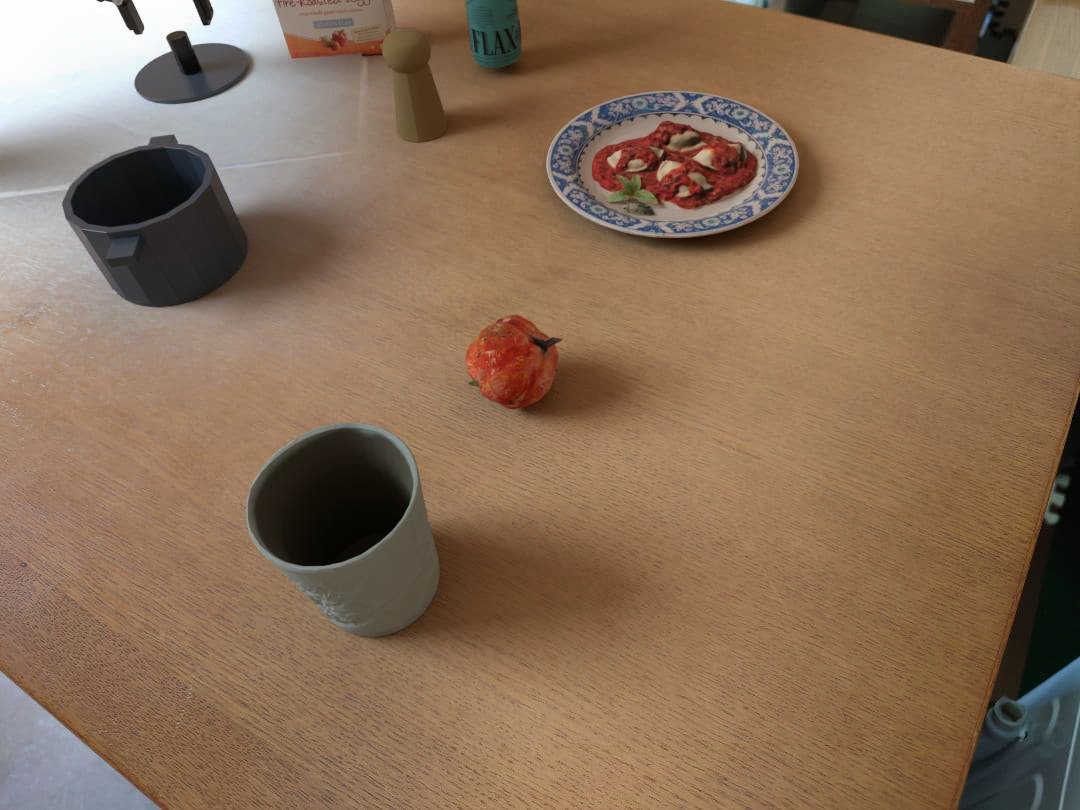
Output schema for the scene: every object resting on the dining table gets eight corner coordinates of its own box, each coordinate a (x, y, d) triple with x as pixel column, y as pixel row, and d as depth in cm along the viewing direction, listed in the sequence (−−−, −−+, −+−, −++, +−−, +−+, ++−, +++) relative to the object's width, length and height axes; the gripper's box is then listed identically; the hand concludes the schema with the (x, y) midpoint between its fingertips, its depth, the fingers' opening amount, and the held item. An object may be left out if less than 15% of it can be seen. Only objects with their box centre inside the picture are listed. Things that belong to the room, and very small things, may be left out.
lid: (126, 114, 98) (104, 71, 93) (150, 58, 107) (131, 16, 103) (243, 100, 98) (225, 56, 94) (256, 45, 107) (241, 2, 103)
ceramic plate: (676, 84, 93) (678, 59, 91) (849, 179, 79) (856, 153, 77) (500, 169, 85) (497, 144, 82) (659, 292, 71) (661, 267, 69)
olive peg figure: (411, 110, 94) (391, 18, 85) (456, 117, 92) (441, 24, 83) (387, 137, 90) (364, 44, 82) (434, 145, 89) (415, 51, 80)
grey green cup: (458, 519, 57) (428, 420, 48) (442, 654, 51) (404, 569, 42) (324, 520, 58) (269, 422, 49) (291, 652, 52) (222, 569, 42)
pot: (89, 335, 73) (34, 261, 66) (134, 211, 85) (91, 137, 78) (234, 316, 73) (195, 240, 66) (258, 195, 85) (227, 120, 78)
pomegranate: (477, 440, 64) (566, 412, 58) (419, 377, 62) (506, 340, 55) (512, 382, 69) (597, 350, 63) (460, 321, 66) (544, 281, 60)
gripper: (179, -141, 87) (234, 6, 100) (53, -125, 87) (124, 21, 100) (166, -118, 83) (226, 34, 95) (33, -101, 82) (110, 49, 95)
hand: (174, 27), depth 97 cm, fingers open, 8 cm apart
